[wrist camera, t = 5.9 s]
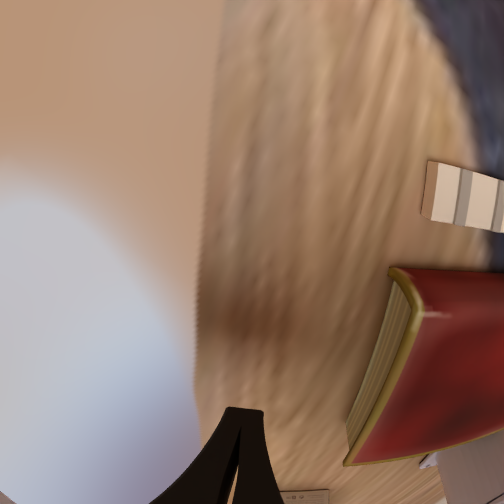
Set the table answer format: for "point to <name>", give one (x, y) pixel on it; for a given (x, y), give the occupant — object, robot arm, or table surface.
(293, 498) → the small box
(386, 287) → the table surface
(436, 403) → the hardcover book
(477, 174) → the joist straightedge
